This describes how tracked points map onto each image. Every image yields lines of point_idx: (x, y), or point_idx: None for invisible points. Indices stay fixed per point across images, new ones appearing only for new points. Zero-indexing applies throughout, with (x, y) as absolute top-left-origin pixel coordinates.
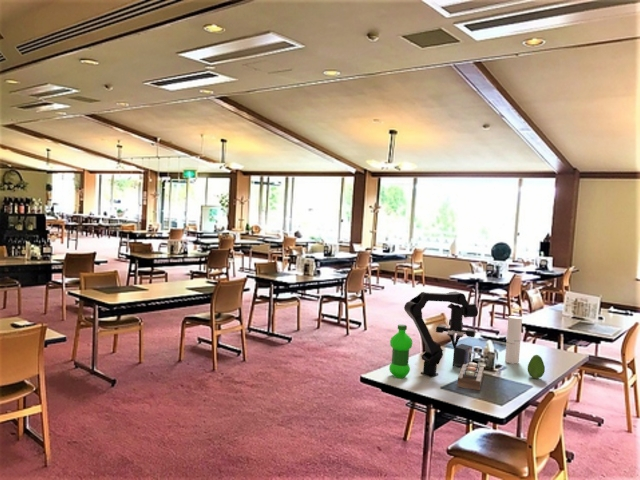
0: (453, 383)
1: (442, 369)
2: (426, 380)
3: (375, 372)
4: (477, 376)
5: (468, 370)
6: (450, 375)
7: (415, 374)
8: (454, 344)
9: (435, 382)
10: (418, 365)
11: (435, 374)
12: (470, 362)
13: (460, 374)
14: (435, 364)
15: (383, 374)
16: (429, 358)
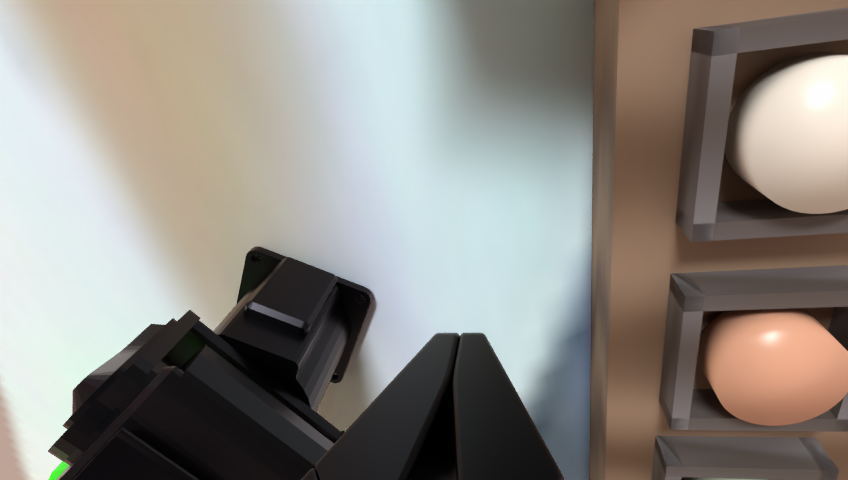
0: (550, 428)
1: (336, 65)
2: None
3: (25, 452)
4: (821, 444)
5: (723, 428)
6: (478, 238)
7: None
8: (452, 469)
9: None
10: (73, 92)
11: (355, 331)
12: (791, 92)
13: (618, 459)
14: (316, 406)
15: None
16: (182, 344)
